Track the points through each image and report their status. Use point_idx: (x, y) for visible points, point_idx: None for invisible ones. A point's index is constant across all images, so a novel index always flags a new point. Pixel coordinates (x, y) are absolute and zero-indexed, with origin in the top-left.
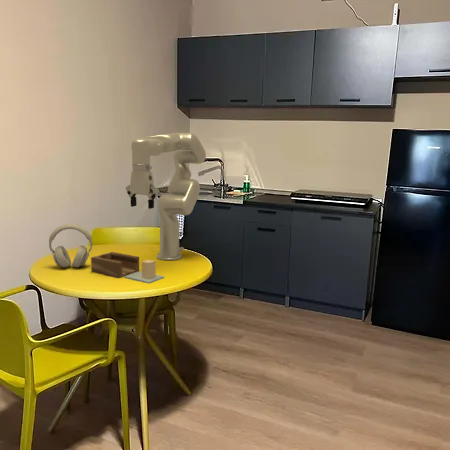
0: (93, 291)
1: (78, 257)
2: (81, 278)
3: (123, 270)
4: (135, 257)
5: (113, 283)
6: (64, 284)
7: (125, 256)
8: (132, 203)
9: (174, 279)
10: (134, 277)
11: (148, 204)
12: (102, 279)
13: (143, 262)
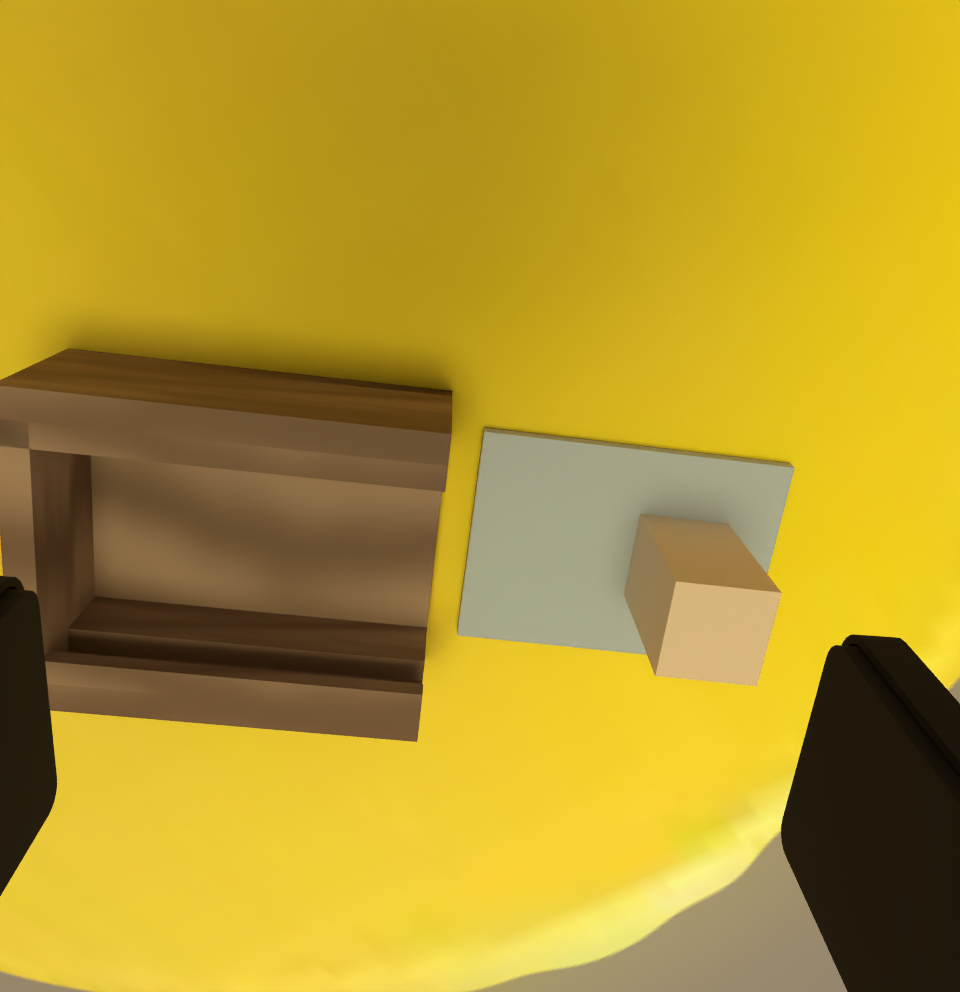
0: (463, 955)
1: None
2: (155, 791)
3: (344, 514)
4: (431, 479)
5: (472, 775)
6: (169, 939)
7: (280, 472)
8: (2, 863)
9: (901, 459)
10: (558, 619)
11: (851, 965)
12: (323, 739)
13: (675, 675)
